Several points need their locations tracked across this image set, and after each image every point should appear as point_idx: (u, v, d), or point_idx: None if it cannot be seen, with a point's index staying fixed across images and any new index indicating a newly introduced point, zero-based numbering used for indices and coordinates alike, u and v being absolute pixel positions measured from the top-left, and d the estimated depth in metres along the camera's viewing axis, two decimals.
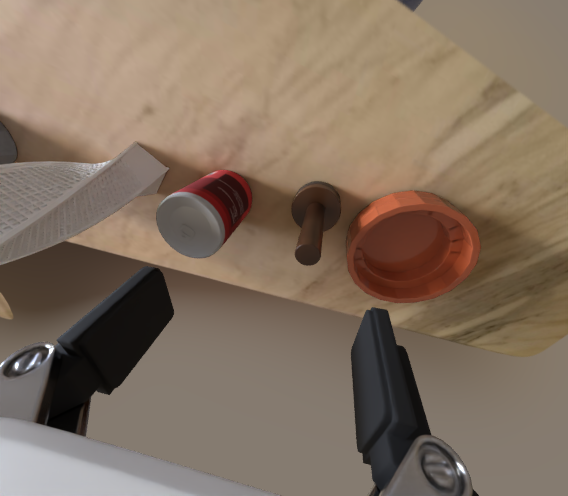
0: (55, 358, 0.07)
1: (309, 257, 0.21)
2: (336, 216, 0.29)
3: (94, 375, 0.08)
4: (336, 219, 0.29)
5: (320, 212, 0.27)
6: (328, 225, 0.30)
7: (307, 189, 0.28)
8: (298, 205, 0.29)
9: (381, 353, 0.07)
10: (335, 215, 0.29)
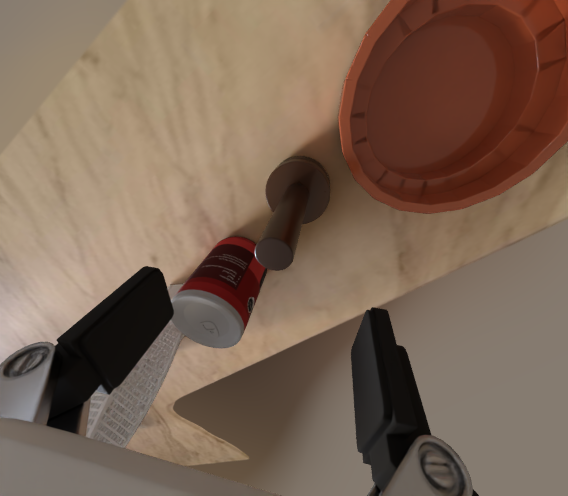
0: (55, 358, 0.07)
1: (278, 255, 0.13)
2: (318, 176, 0.21)
3: (94, 375, 0.08)
4: (322, 178, 0.21)
5: (288, 192, 0.19)
6: (324, 193, 0.21)
7: (267, 188, 0.22)
8: None
9: (381, 353, 0.07)
10: (316, 176, 0.21)
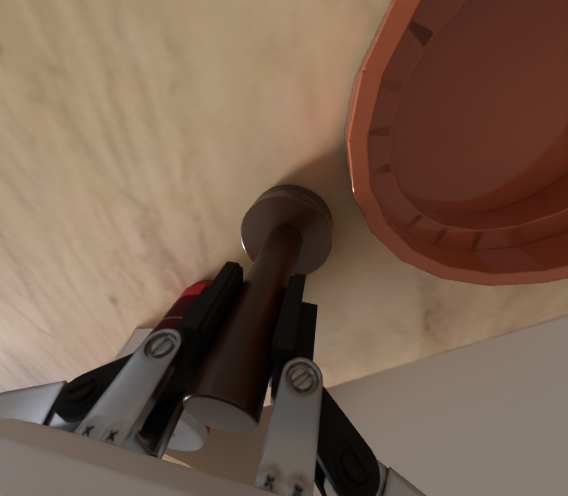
0: (182, 343, 0.07)
1: (227, 418, 0.07)
2: (315, 217, 0.14)
3: None
4: (321, 220, 0.14)
5: (269, 246, 0.13)
6: (324, 240, 0.15)
7: (242, 230, 0.16)
8: None
9: (286, 304, 0.09)
10: (312, 218, 0.14)
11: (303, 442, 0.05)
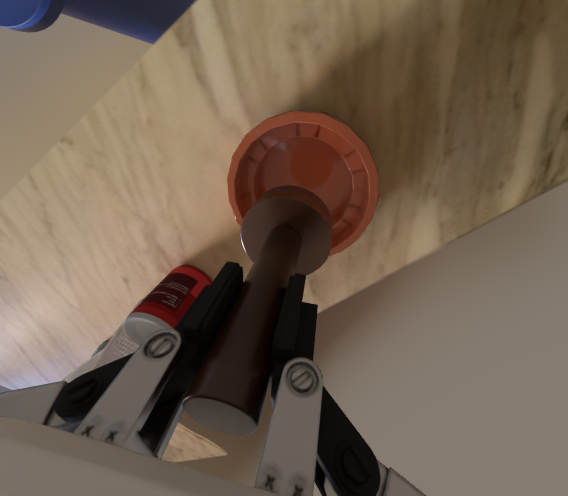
0: (182, 343, 0.07)
1: (227, 419, 0.07)
2: (315, 218, 0.14)
3: None
4: (321, 221, 0.14)
5: (269, 246, 0.13)
6: (324, 240, 0.15)
7: (242, 230, 0.16)
8: None
9: (287, 304, 0.09)
10: (312, 218, 0.14)
11: (303, 442, 0.05)
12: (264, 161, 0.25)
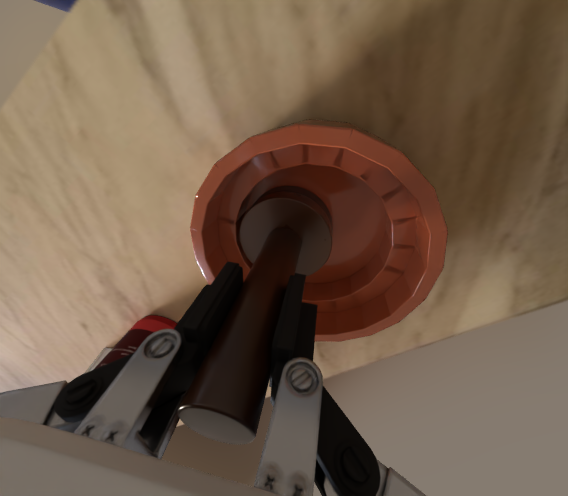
0: (182, 343, 0.07)
1: (224, 429, 0.06)
2: (315, 218, 0.14)
3: None
4: (321, 222, 0.14)
5: (268, 248, 0.13)
6: (324, 241, 0.15)
7: (241, 232, 0.15)
8: None
9: (287, 304, 0.09)
10: (312, 219, 0.14)
11: (303, 442, 0.05)
12: (253, 194, 0.16)
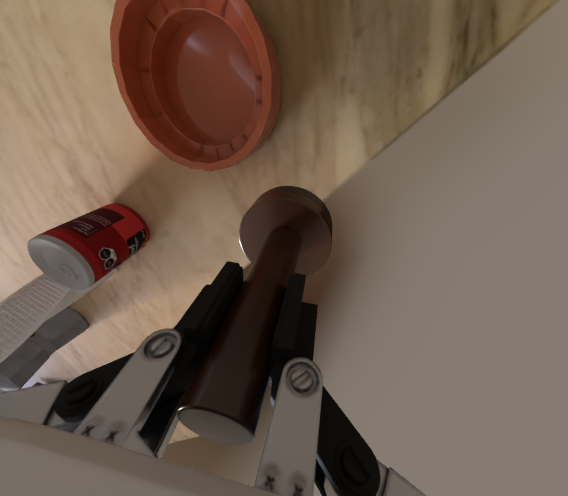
0: (182, 343, 0.07)
1: (223, 430, 0.06)
2: (314, 219, 0.14)
3: None
4: (320, 222, 0.14)
5: (268, 248, 0.13)
6: (324, 241, 0.15)
7: (240, 232, 0.15)
8: None
9: (287, 304, 0.09)
10: (311, 219, 0.14)
11: (303, 442, 0.05)
12: (167, 58, 0.23)
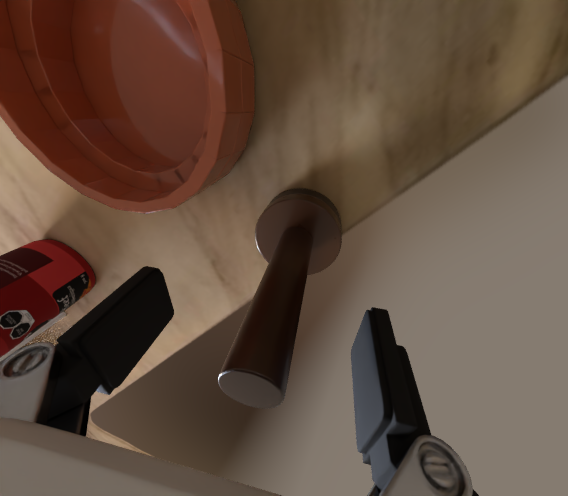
0: (55, 358, 0.07)
1: (257, 392, 0.08)
2: (326, 218, 0.15)
3: (94, 374, 0.08)
4: (331, 222, 0.15)
5: (284, 245, 0.14)
6: (334, 240, 0.16)
7: (256, 230, 0.17)
8: None
9: (381, 353, 0.07)
10: (323, 219, 0.15)
11: None
12: (73, 35, 0.14)
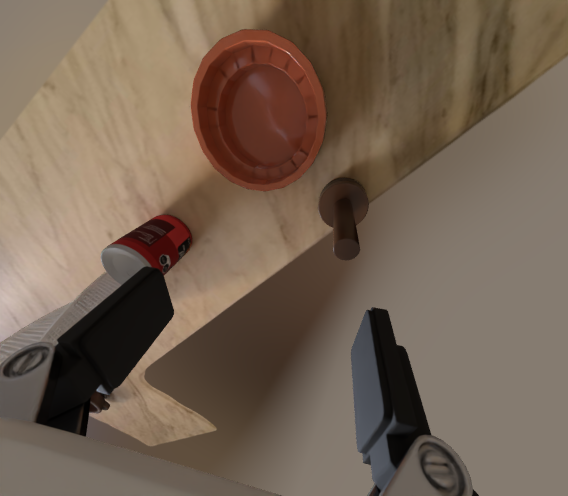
0: (55, 358, 0.07)
1: (349, 249, 0.21)
2: (361, 193, 0.28)
3: (94, 375, 0.08)
4: (364, 195, 0.28)
5: (341, 206, 0.27)
6: (364, 205, 0.29)
7: (320, 201, 0.30)
8: (327, 217, 0.30)
9: (381, 353, 0.07)
10: (359, 193, 0.28)
11: None
12: (229, 97, 0.27)
